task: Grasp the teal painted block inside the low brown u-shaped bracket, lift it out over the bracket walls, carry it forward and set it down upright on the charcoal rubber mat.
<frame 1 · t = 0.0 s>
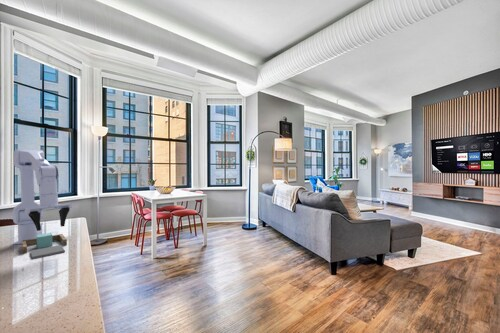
hand: (51, 228, 97), 11 cm above the kitchen counter, tool pointing down, fingers open, 7 cm apart
salt shaker: (36, 231, 134), on the kitchen counter
charcoal mat: (47, 252, 99), on the kitchen counter
teal block: (44, 246, 108), on the kitchen counter
brown u-shaped bracket: (44, 245, 108), on the kitchen counter
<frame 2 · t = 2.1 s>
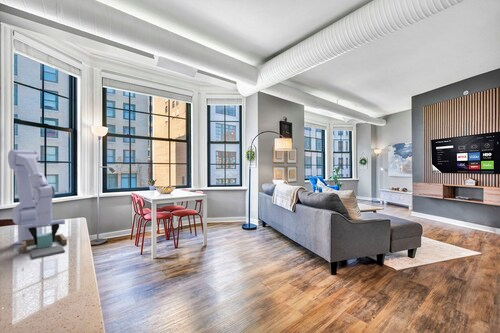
hand: (44, 242, 108), 1 cm above the kitchen counter, tool pointing down, fingers closed on teal block, 5 cm apart
teal block: (44, 245, 108), on the kitchen counter, touching gripper
everything else where it was.
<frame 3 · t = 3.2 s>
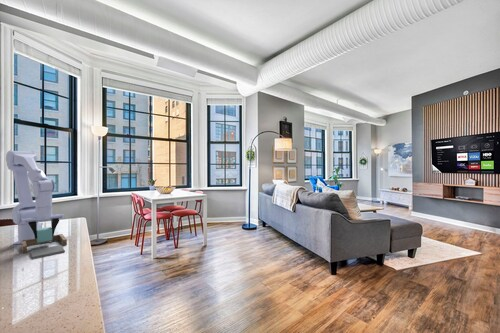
hand: (44, 236, 108), 4 cm above the kitchen counter, tool pointing down, fingers closed on teal block, 5 cm apart
teal block: (44, 240, 108), point 3 cm above the kitchen counter, touching gripper
everything else where it was.
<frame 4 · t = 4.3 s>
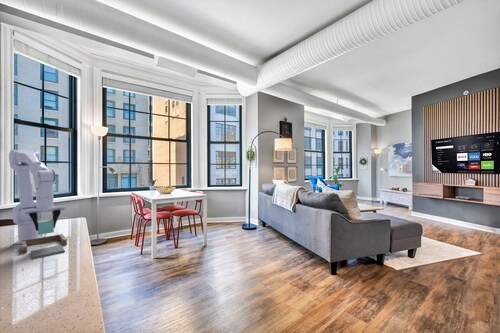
hand: (45, 228, 104), 9 cm above the kitchen counter, tool pointing down, fingers closed on teal block, 5 cm apart
teal block: (45, 232, 104), point 7 cm above the kitchen counter, touching gripper
everything else where it was.
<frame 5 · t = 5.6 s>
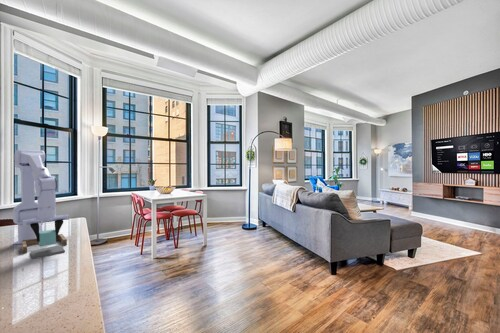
hand: (47, 239, 99), 5 cm above the kitchen counter, tool pointing down, fingers closed on teal block, 5 cm apart
teal block: (47, 243, 99), point 4 cm above the kitchen counter, touching gripper
everything else where it was.
when the fingers open (3 cm above the kitchen counter, at t = 6.5 s): teal block stays where it is, resting on charcoal mat.
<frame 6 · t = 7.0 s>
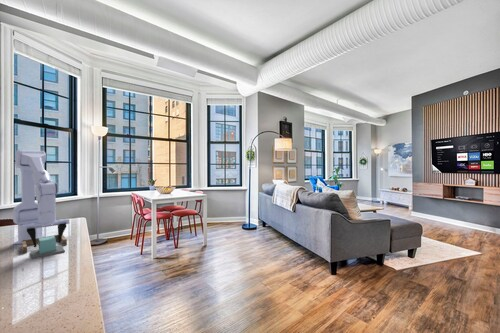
hand: (47, 244, 99), 3 cm above the kitchen counter, tool pointing down, fingers open, 7 cm apart
teal block: (47, 250, 99), point 1 cm above the kitchen counter, touching charcoal mat
everything else where it was.
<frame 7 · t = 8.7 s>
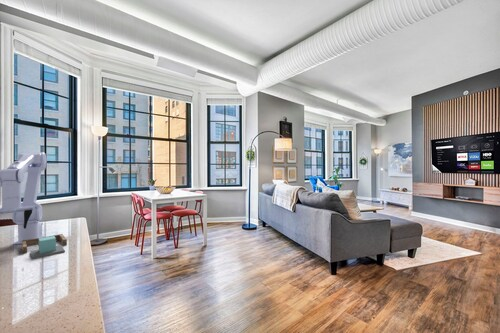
hand: (12, 230, 100), 9 cm above the kitchen counter, tool pointing down, fingers open, 7 cm apart
nothing on the kitchen counter moved.
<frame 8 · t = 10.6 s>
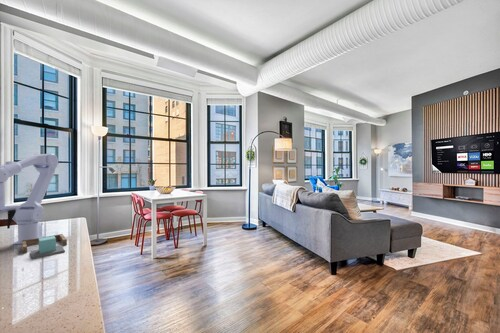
nothing on the kitchen counter moved.
at the end: teal block inside the target area on the charcoal mat (0.2 cm from its centre), point 0.8 cm above the charcoal mat's base; teal block tilted 0°; the gripper is holding nothing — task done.
